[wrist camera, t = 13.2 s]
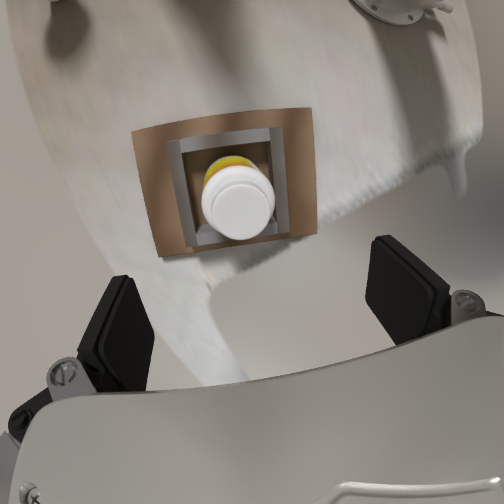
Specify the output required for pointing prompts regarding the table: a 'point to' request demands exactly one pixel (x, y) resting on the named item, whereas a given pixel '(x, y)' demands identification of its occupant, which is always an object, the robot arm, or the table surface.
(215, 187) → the supplement bottle
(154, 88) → the table surface
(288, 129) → the collar board
